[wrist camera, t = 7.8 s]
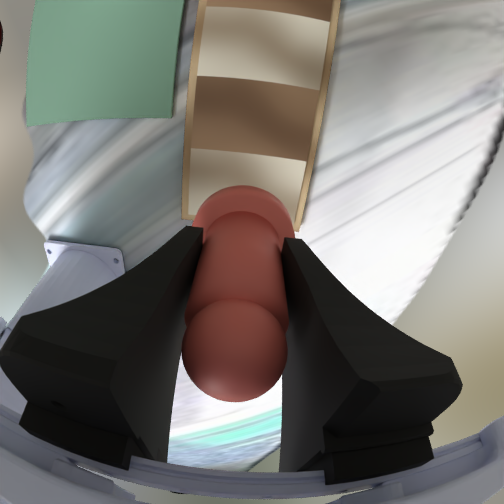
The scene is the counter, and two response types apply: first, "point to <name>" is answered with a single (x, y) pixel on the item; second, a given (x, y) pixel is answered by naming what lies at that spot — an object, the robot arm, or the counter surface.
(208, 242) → the pawn
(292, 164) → the board
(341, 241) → the counter surface
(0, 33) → the soda can
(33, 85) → the felt mat
